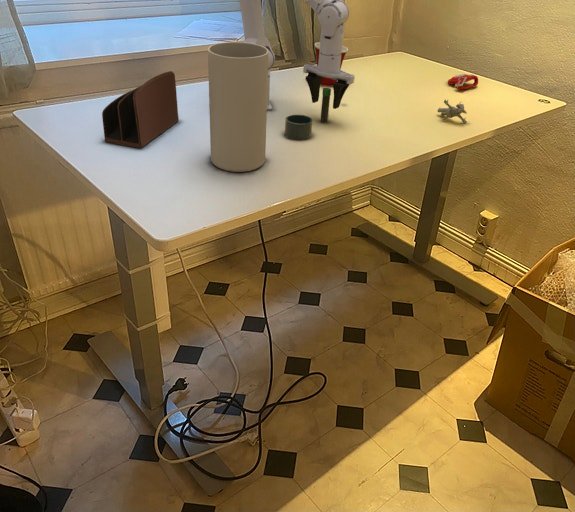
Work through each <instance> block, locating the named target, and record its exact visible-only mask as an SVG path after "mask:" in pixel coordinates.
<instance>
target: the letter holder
mask: <svg viewBox="0 0 575 512" xmlns="http://www.w3.org/2000/svg"><path fill="white" fill-rule="evenodd" d="M177 95H178V94H177V84H176V75H175V73H174V71H172V70H169V71H166V72H162V73H160V74H158V75H155V76H153V77H152V78H150V79H149V80H147V81H146V82H144V83H143V84H142V85H140V86H137V87H136V88H134V89H132V90H130V91H127V92H125V93H123V94H122V95H120V96H118V97H117V98H115V99H113V100H112V101H111V102H110V103H108V104H107V105H106V106H105V107H104V108H103V110H102V111H101V119H102V127H103V136H104V142H105V143H111V144H115V145H120V146H121V145H122V146H125V147H131V148H138V149H143V148H144V147H145V146H146V145H148V144H150V142H152V141H153V140H154V139H156V138H157V137H158V136H160V135H161V134H163V133H164V132H165V131H167V130H168V129H169V128H172V126H174V125H175V124H176V123H178V122H179V120H180V119H179V117H180V116H179V108H178V107H179V106H178V96H177Z"/></svg>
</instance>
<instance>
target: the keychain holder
mask: <svg viewBox="0 0 575 512" xmlns="http://www.w3.org/2000/svg"><path fill="white" fill-rule="evenodd" d="M472 80H473V83H472V84H469V85H466V86H463V85H464V84H465V83H468V82H470V81H472ZM447 84H450V85H454V87H455V88H457V89H458V90H468V89H471V88H475V87H476V86H478V84H479V77H478V76H477V75H474V74H471V73H470V74H465V73H463V74H462V73H461V74H457V75H454V76H452V77H451V78H449V79H447Z"/></svg>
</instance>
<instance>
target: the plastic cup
mask: <svg viewBox="0 0 575 512" xmlns="http://www.w3.org/2000/svg"><path fill="white" fill-rule="evenodd" d="M314 49H315V57H316V65H317V66H318V62H319V50H320V41H318V42H315V43H314ZM348 52H349V48H348V47H347V46H344V45H343V44H342V54H341V63H340V70H342V66H343V62H344V59H345V56H346V54H347V53H348ZM337 81H338V80H334V79H330V78H326V77H322V81H321V85H320V86H323V87H333V83H335V82H337Z"/></svg>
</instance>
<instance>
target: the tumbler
mask: <svg viewBox="0 0 575 512" xmlns="http://www.w3.org/2000/svg"><path fill="white" fill-rule="evenodd" d="M284 121H285V122H284V136H285V137H286V138H288V139H290V140H295V141H304V140H308V139H311V137H312V131H313V119H312V117H310V116H308V115H306V114H305V115H304V114H290V115H287V116H286V117H285V119H284Z"/></svg>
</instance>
